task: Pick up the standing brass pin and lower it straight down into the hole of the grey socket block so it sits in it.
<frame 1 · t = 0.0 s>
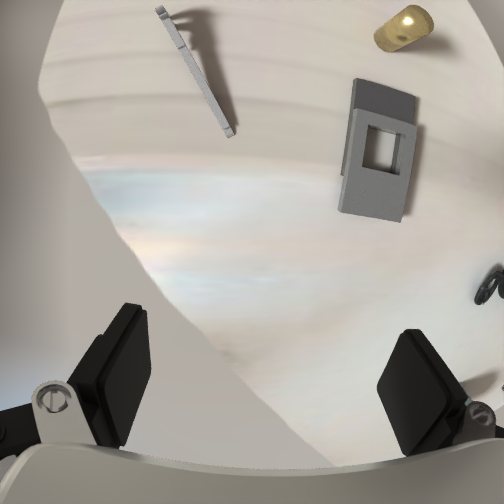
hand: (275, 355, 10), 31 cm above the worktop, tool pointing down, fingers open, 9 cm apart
grey socket block: (375, 149, 37), on the worktop
pin: (386, 40, 31), on the worktop
caliper: (197, 72, 34), on the worktop
milk frother: (499, 281, 45), on the worktop
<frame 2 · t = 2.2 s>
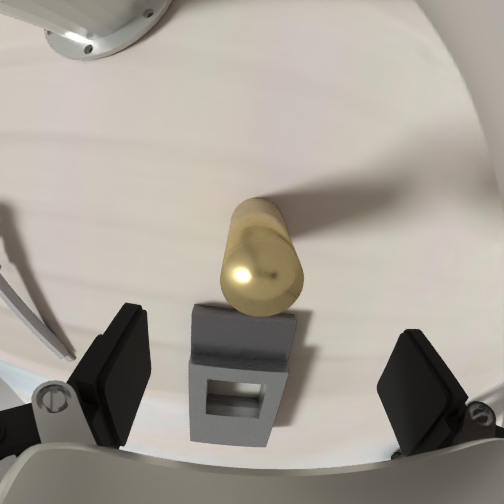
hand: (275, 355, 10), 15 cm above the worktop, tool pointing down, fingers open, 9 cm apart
grey socket block: (235, 380, 30), on the worktop
pin: (256, 223, 24), on the worktop
caliper: (23, 288, 26), on the worktop
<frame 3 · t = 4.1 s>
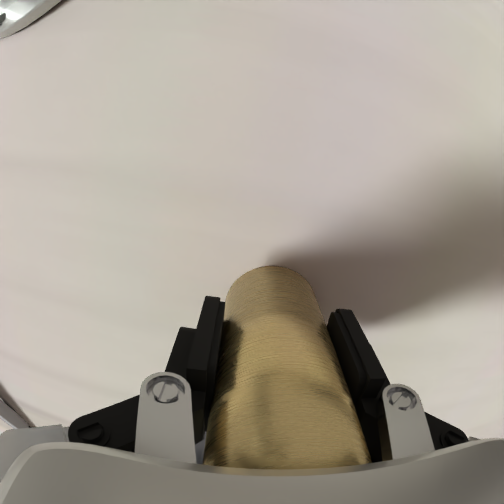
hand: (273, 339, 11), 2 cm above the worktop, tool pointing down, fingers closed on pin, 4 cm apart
pin: (270, 307, 13), on the worktop, touching gripper
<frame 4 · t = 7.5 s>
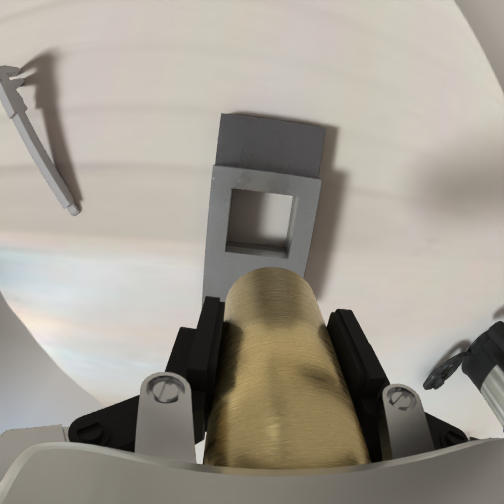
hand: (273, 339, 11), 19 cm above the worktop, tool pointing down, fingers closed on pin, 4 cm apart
grey socket block: (260, 216, 28), on the worktop
pin: (270, 308, 13), point 16 cm above the worktop, touching gripper
caliper: (43, 135, 25), on the worktop
milk frother: (463, 357, 36), on the worktop
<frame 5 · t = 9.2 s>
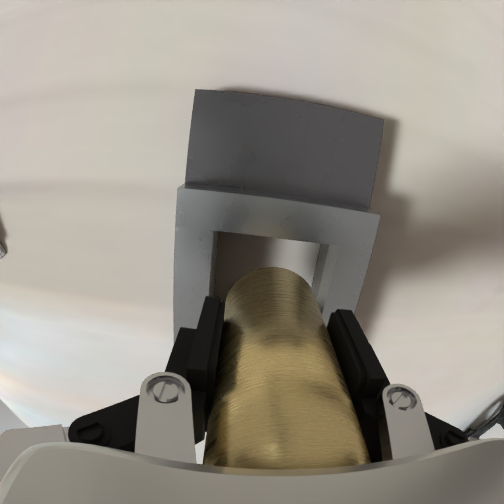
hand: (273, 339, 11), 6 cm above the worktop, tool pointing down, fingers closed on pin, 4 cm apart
grey socket block: (266, 268, 17), on the worktop
pin: (270, 308, 13), point 4 cm above the worktop, touching gripper
milk frother: (500, 408, 25), on the worktop
when the fingers open (4 cm above the worktop, at t = 10.7 s): pin drops 1 cm, resting in grey socket block.
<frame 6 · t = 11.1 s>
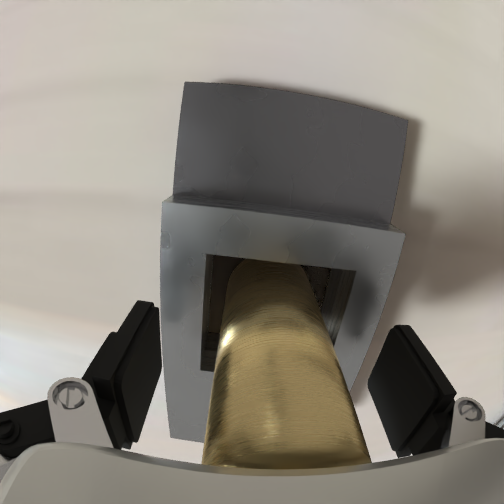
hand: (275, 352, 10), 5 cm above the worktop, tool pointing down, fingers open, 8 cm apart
grey socket block: (268, 292, 15), on the worktop
pin: (268, 291, 15), resting in grey socket block
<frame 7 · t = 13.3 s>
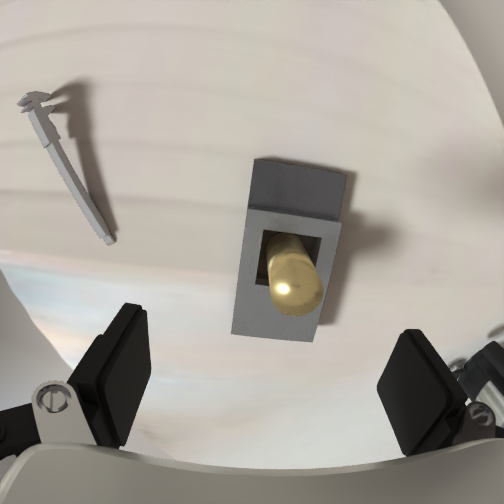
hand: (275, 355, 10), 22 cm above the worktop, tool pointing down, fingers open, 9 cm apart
grey socket block: (285, 251, 32), on the worktop
pin: (284, 251, 32), resting in grey socket block
caliper: (76, 165, 29), on the worktop
milk frother: (460, 373, 39), on the worktop
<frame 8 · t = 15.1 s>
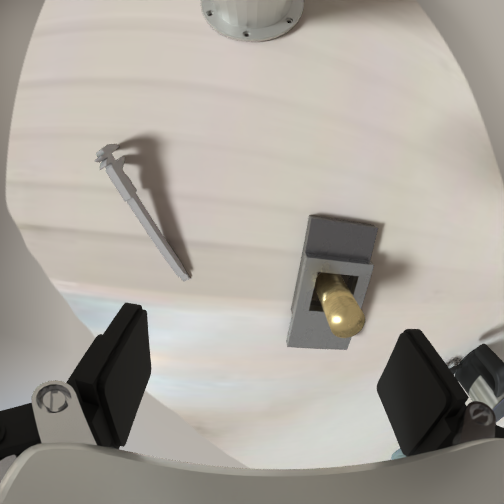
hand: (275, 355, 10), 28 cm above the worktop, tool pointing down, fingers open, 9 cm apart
grey socket block: (328, 283, 41), on the worktop
pin: (328, 283, 41), resting in grey socket block
caliper: (150, 212, 38), on the worktop
milk frother: (456, 368, 48), on the worktop
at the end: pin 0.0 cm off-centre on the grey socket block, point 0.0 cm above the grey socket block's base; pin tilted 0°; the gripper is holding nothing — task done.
